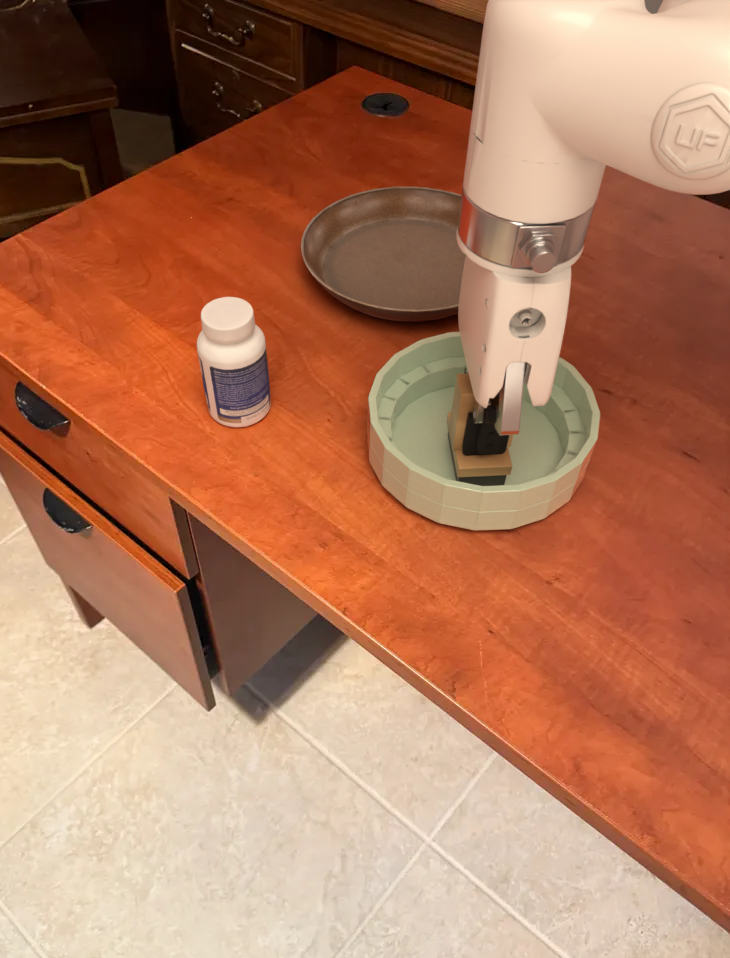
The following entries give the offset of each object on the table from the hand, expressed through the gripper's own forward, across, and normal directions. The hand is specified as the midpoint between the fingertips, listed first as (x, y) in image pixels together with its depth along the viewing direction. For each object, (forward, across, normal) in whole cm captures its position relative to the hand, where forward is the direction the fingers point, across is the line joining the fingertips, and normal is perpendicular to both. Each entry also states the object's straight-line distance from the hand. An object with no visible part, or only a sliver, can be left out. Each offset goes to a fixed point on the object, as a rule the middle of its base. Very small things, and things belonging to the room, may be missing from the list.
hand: (480, 436), depth 63 cm
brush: (+3, 0, 0) cm, 3 cm away
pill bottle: (+4, +8, +19) cm, 21 cm away
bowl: (+3, +2, 0) cm, 4 cm away
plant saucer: (+4, +26, +2) cm, 26 cm away
